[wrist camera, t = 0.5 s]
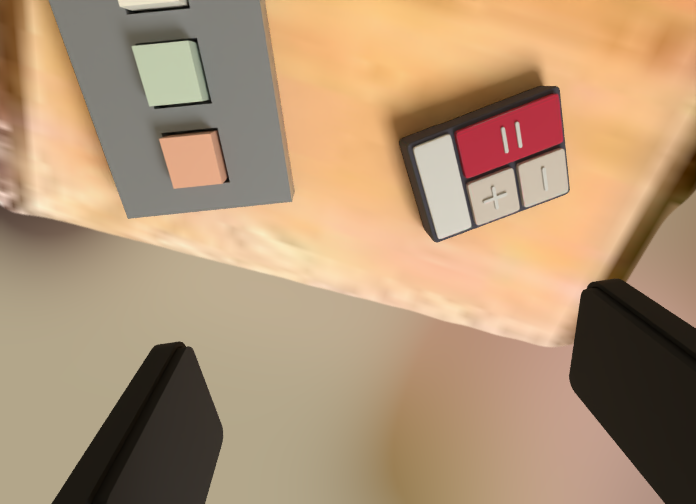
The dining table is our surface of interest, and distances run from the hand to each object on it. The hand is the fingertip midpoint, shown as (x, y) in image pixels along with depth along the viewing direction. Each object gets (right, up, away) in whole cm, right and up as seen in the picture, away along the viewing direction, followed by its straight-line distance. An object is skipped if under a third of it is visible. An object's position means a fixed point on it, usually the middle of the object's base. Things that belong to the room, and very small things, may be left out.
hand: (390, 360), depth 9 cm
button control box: (+13, +12, +31) cm, 36 cm away
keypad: (-16, +19, +26) cm, 35 cm away
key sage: (-16, +18, +23) cm, 33 cm away
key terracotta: (-15, +12, +26) cm, 32 cm away
